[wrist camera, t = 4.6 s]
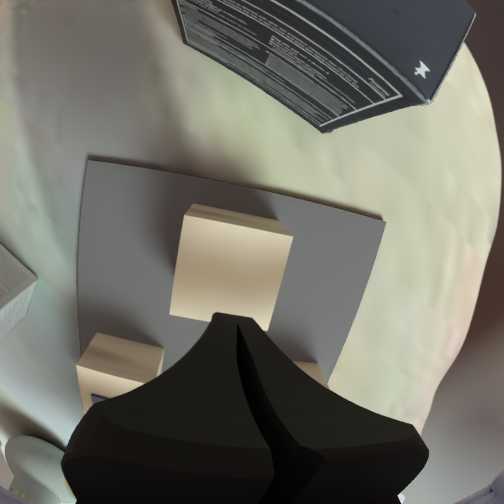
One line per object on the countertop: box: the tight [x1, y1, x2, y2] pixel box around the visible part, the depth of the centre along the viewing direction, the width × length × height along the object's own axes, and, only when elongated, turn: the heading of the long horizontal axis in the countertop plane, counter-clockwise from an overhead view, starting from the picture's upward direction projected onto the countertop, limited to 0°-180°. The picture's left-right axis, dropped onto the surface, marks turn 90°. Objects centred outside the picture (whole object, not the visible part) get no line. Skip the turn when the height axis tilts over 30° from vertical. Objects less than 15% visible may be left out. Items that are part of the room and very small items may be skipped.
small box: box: [171, 0, 476, 133], centre depth 10 cm, size 11×6×10 cm, turn 55°
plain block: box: [169, 203, 293, 331], centre depth 16 cm, size 5×5×4 cm
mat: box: [78, 160, 386, 383], centre depth 19 cm, size 18×19×1 cm
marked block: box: [76, 332, 164, 415], centre depth 18 cm, size 5×5×4 cm
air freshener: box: [5, 435, 77, 504], centre depth 19 cm, size 11×8×10 cm
